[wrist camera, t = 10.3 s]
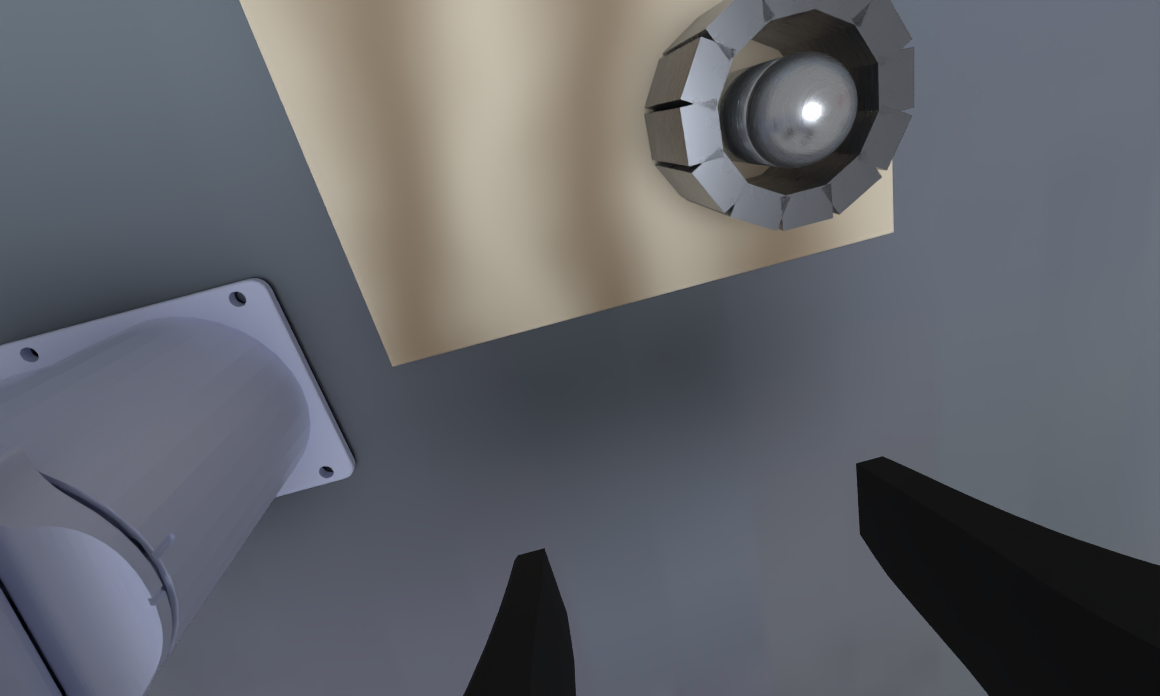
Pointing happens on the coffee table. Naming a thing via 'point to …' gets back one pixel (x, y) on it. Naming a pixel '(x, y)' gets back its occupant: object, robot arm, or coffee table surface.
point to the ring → (789, 24)
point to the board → (508, 161)
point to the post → (787, 110)
